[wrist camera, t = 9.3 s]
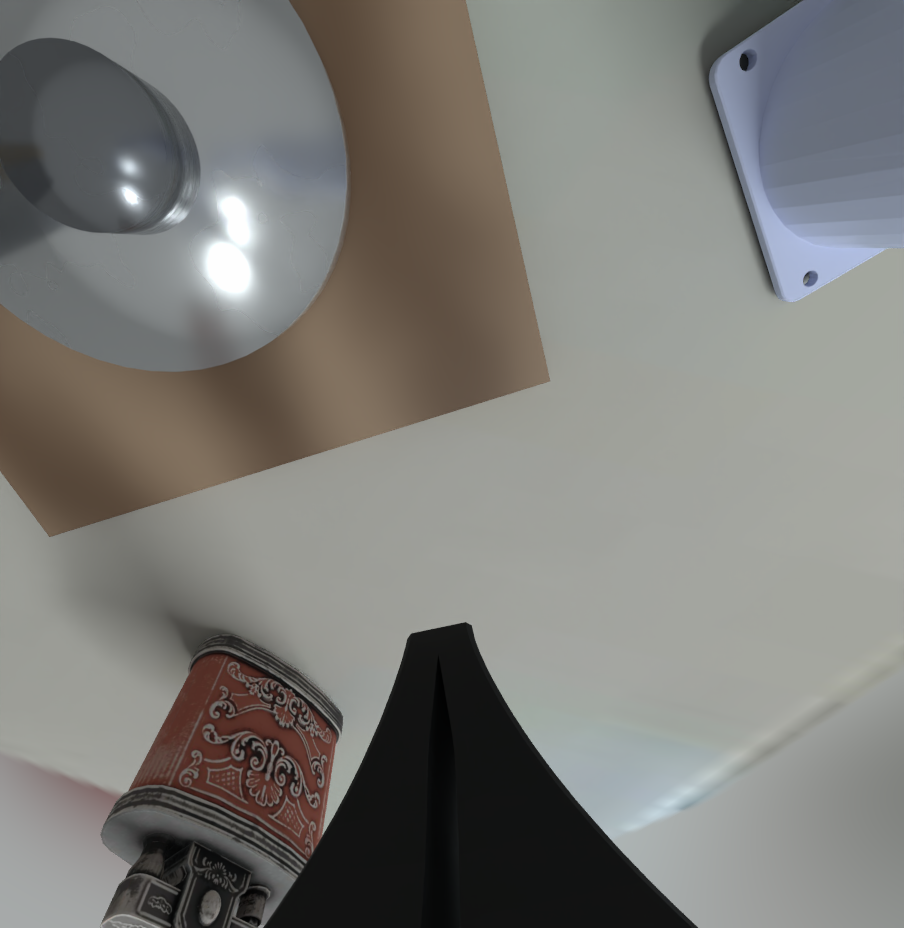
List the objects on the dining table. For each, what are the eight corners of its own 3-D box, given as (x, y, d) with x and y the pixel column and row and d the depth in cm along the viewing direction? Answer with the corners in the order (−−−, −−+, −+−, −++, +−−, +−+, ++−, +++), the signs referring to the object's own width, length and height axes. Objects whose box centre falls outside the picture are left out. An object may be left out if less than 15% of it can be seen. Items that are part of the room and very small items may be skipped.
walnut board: (353, -460, 11) (303, -1086, 6) (542, 374, 18) (593, 422, 13) (-417, -149, 12) (-1048, -451, 7) (67, 523, 19) (-56, 620, 14)
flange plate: (401, 305, 16) (399, 322, 12) (-14, 432, 16) (-128, 482, 13) (250, -180, 11) (180, -368, 8) (-309, 18, 12) (-604, -76, 8)
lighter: (178, 661, 22) (16, 948, 13) (230, 620, 22) (98, 892, 12) (309, 750, 25) (251, 1038, 16) (359, 717, 24) (328, 997, 15)
